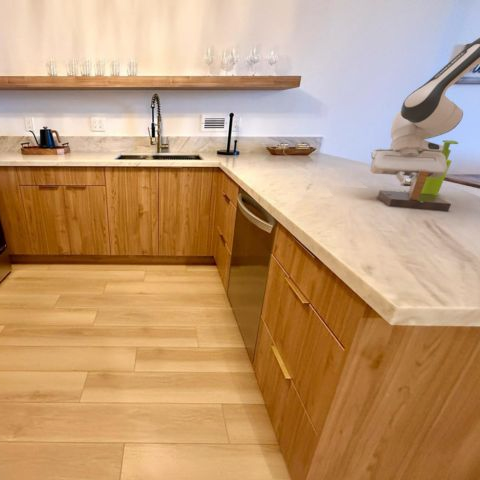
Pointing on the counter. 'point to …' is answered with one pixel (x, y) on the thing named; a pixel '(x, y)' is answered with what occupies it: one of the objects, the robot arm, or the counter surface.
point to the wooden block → (418, 185)
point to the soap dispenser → (435, 183)
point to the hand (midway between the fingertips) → (406, 185)
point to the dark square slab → (413, 201)
